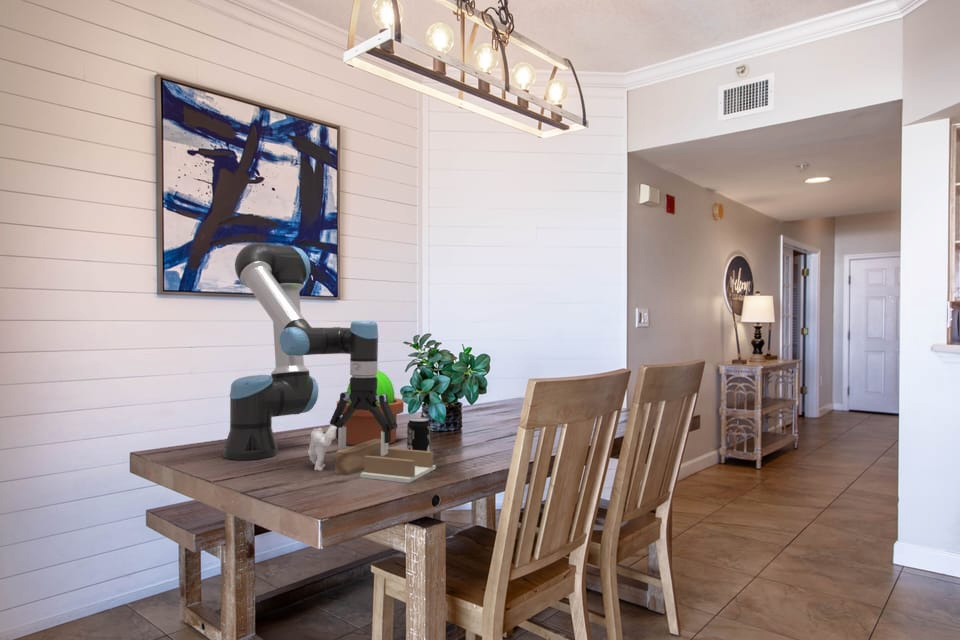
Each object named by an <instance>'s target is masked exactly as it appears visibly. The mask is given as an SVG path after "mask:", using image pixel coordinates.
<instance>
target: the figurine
mask: <svg viewBox="0 0 960 640" xmlns="http://www.w3.org/2000/svg"><path fill="white" fill-rule="evenodd" d="M336 429H337V427H336V426H334V425H331V424H330V425H329V427H328V429H327V431H325V433H324V432H323V428H322V427H318V428H314V429H313V430H311V433H310V440H311V441H310V442H309V449H308V450H307V455H308V456H309V461H311V462H312V464H314V471H317V470H318V471H320V472H321V471H324V467H326V464H325V463H324V461H325V454H326V452H327V447H330V446H331V444H332V441H333V440H335V438H336Z"/></svg>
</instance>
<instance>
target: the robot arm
mask: <svg viewBox="0 0 960 640" xmlns="http://www.w3.org/2000/svg"><path fill="white" fill-rule="evenodd" d="M234 270H235V274H236V276H237V278H238V280H239V282H240V283H241V284H242V285H243V287H246V288H249V289H250V291H251V292H252V294H253V295H254V296H255V298H256V299H257V301H258V302H259V303H260V305H261V306H262V308H263V309H264V311H265V312H266V313H267V315H268V317H269V318H270V319H271V320H272V325H273V326H272V327H273V329H272V330H273V342H274V345H273V346H274V358H275V361H274V362H275V363H274V364H275V368H274V370H273V371H272V372H271V373H270V374H257V375H255V374H254V375H248V376H243V377H239V378H236V379H235V380H233V382H231V385H230V392H229V393H230V394H229V398H230V400H229V403H230V405H229V407H230V411H229V432H228V435H227V438H226V441H225V446H224V447H223V455H222V456H223V458H224V459H227V460H236V461H250V460H252V461H253V460H260V459H267V458H270V457H274V456H276V455H277V454H278V444H277V442H276V438H275V435H274V432H273V429H272V424H273V423H272V422H273V421H272V420H273V417H275V418H276V417H283V416H284V417H285V416H293V415H294V416H295V415H300V414H304V413H308V412H310V411H311V410H312V409H313V408H314V407H315V405H316V403H317V402H318V398H319V384H318V382H317V380H316V379H315V377H313V376H310V370H309V369H308V368H307V367H306V366H305V362H304V359H305V358H304V356H310V355H311V356H312V355H336V354H337V355H338V354H339V355H341V354H343V355H350V356H349V361H350V363H349V365H350V366H349V367H350V370H349V374H350V375H351V377H350V378H349V383H350V390H351V393H350V394H349V393H348V392H347V391H344V392H341V393H340V395H339V400H340V401H339V400H338V401H339V403H338V405H337V404H336V408H335V409H334V412H333V414H332V417H331V419H330V420H329V425H330V426H331V425H332V426H335V427H337V429H336V432H335V434H336V436H335V438H336V439H337V440H338V442H337V443H338V444H337V445H338V446H337V449H338V450H337V451H340V450H343V449H346V448H347V444H346V427H344V424H345V423H346V421H347V420H348V419H349V418H350V416H351V415H352V414H353V413H354V411H355V410H356V409H357V410H361V409H362V410H369V411H370V412H371V413H372V414H373V415H374V417H375V418H376V420H377V421H378V423H379V424H380V426H381V427H382V428H383V431H381V456H384V455H386V454H388V448H389V444H388V443H389V442H390V441H391V430H392V429H395V428H396V429H397V428H398V427H399V425H398V423H397V420H396V421H395V418H394V416H393V413H392V411H391V409H390V406H389V404H388V398H387V395H386V394H384V395H377V377H375V375H377V374H378V371H379V370H378V369H379V368H378V367H379V366H378V357H379V356H378V355H379V348H378V347H379V345H378V344H379V331H378V330H379V329H378V328H379V327H378V323H377V321H374V320H373V321H372V320H368V321H367V320H366V321H365V320H363V321H362V320H353V321H351V322H350V327H340V326H333V327H312V326H311V325H310V323H309V322H308V321H307V320H306V318H305V317H304V316H303V314H302V313H301V301H300V300H301V299H300V292H301V290H302V289H303V288H304V283H305V282H306V281H308V279H309V277H310V276H309V275H310V274H311V263H310V258H309V257H308V254H307V253H306V252H305V251H304V250H303V249H301V248H299V247H295V246H291V245H281V244H271V243H264V242H253V243H250V244H247V245H245V246H244V247H242V249H240V251H239V252H238V254H237V255H236V258H235V260H234ZM349 399H350V400H351V402H352V403H351V404H350V405H349V406H348V409H347V410H346V411H345V413H344V414H343V415H342V413H343V411H344V408H345V406H346V404H347V402H348V400H349ZM377 400H378V402H379V403H380V406H381V409H382V411H383V413H384V415H383V414H382V413H381V411H380V410H379V407H378V405H377V404H376V401H377ZM384 416H385V417H384Z"/></svg>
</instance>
